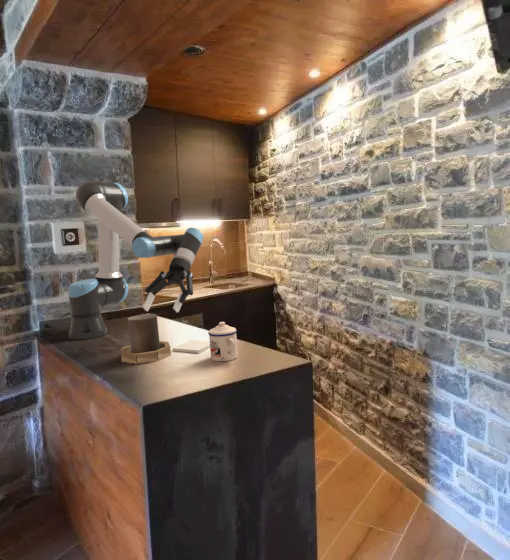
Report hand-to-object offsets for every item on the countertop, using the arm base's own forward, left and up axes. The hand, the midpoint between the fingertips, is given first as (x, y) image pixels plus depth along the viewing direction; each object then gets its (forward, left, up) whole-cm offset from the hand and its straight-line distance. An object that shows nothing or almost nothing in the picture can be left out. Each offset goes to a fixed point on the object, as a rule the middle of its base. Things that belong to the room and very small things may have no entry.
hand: (160, 309), depth 152 cm
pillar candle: (-1, -8, -15) cm, 17 cm away
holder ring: (-1, -8, -14) cm, 17 cm away
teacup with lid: (+28, -3, -15) cm, 32 cm away
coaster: (+10, +5, -14) cm, 18 cm away
